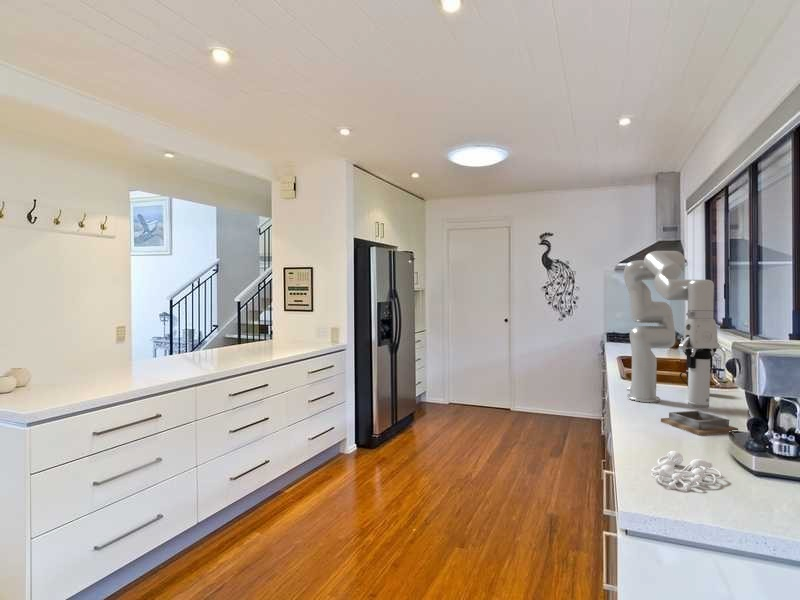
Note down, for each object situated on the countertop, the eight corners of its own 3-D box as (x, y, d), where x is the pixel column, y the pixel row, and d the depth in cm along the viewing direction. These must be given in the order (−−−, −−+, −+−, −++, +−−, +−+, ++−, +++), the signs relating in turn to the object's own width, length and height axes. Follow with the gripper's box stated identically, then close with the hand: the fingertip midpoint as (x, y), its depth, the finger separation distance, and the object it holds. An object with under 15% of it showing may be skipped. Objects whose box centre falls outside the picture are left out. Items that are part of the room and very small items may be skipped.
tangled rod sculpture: (701, 505, 106) (703, 488, 106) (636, 480, 117) (637, 464, 117) (726, 479, 119) (728, 464, 119) (665, 459, 130) (666, 445, 130)
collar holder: (660, 421, 168) (660, 411, 168) (697, 418, 172) (697, 408, 172) (698, 435, 153) (699, 424, 152) (738, 431, 156) (738, 420, 156)
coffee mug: (712, 395, 210) (712, 373, 209) (692, 395, 210) (693, 373, 209) (696, 389, 221) (696, 368, 221) (677, 389, 221) (678, 368, 221)
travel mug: (713, 409, 158) (715, 350, 158) (692, 407, 159) (693, 349, 159) (705, 404, 164) (706, 347, 164) (684, 403, 166) (686, 347, 165)
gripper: (688, 316, 155) (687, 370, 156) (730, 315, 160) (729, 368, 160) (670, 315, 163) (669, 366, 163) (711, 314, 167) (710, 364, 167)
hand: (699, 367), depth 162 cm, fingers closed on travel mug, 6 cm apart
